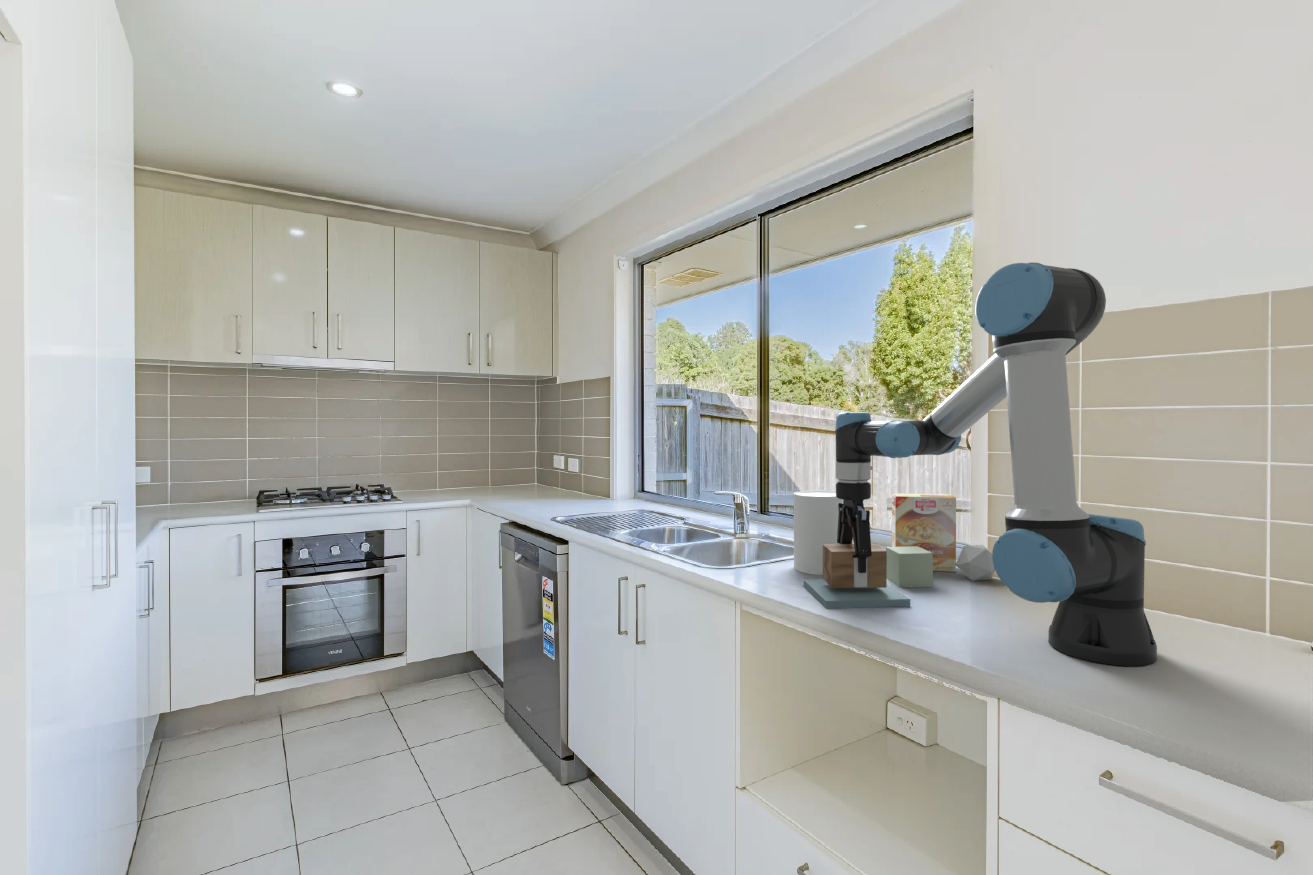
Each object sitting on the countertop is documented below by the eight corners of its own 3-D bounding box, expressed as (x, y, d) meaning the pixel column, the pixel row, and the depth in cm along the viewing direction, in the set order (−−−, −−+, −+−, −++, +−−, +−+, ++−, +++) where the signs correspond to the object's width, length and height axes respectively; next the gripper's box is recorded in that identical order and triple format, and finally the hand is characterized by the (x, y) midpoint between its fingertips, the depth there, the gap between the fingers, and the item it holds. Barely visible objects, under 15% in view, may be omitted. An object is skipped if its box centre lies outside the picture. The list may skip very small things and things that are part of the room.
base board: (910, 606, 134) (910, 599, 134) (826, 608, 134) (826, 600, 134) (877, 584, 152) (877, 577, 152) (803, 585, 152) (803, 579, 152)
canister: (836, 561, 176) (835, 490, 176) (854, 573, 163) (853, 496, 162) (788, 563, 175) (787, 491, 175) (802, 575, 162) (801, 497, 161)
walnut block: (886, 587, 139) (886, 551, 139) (831, 587, 139) (831, 551, 139) (874, 578, 147) (874, 543, 147) (822, 578, 147) (822, 544, 147)
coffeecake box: (895, 570, 166) (895, 495, 166) (891, 563, 173) (891, 492, 173) (956, 572, 163) (957, 496, 162) (950, 565, 170) (950, 493, 169)
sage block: (932, 586, 150) (932, 553, 150) (899, 587, 150) (899, 553, 149) (917, 578, 158) (917, 546, 158) (885, 578, 158) (885, 546, 157)
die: (1000, 587, 150) (1010, 550, 154) (966, 569, 150) (977, 532, 154) (976, 591, 158) (986, 556, 162) (945, 574, 158) (956, 539, 162)
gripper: (888, 485, 132) (888, 593, 133) (853, 476, 153) (853, 569, 154) (852, 486, 132) (853, 594, 133) (822, 476, 153) (823, 570, 153)
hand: (853, 581), depth 143 cm, fingers closed on walnut block, 8 cm apart
